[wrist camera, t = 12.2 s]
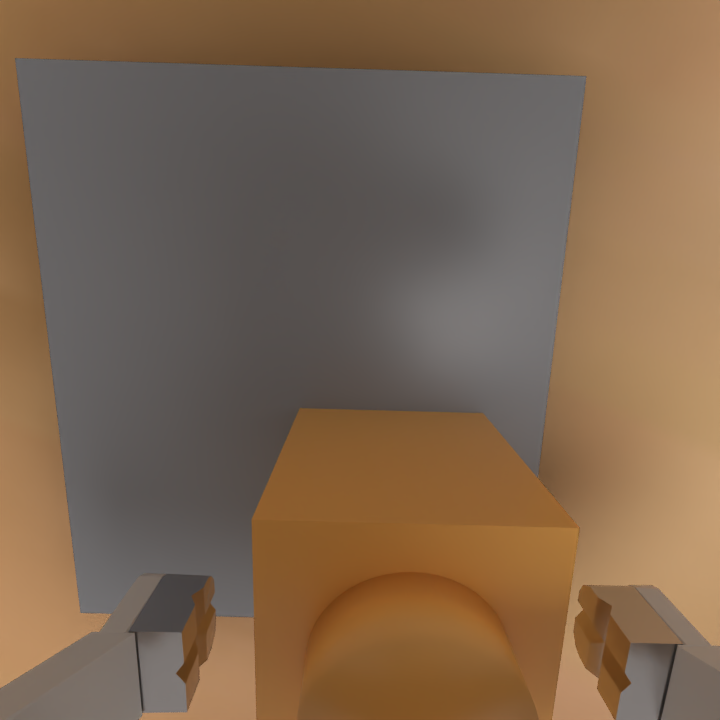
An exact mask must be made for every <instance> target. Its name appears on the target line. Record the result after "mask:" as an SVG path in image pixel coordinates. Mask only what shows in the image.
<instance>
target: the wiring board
mask: <svg viewBox="0 0 720 720" xmlns="http://www.w3.org/2000/svg"><path fill="white" fill-rule="evenodd" d="M15 61H16V70H17V78H18V87H19V95H20V104H21V112H22V121H23V129H24V138H25V146H26V155H27V163H28V172H29V180H30V188H31V197H32V205H33V214H34V222H35V231H36V239H37V248H38V256H39V265H40V273H41V282H42V290H43V299H44V307H45V316H46V324H47V332H48V341H49V349H50V358H51V366H52V375H53V383H54V392H55V400H56V409H57V417H58V426H59V434H60V443H61V451H62V460H63V468H64V477H65V485H66V493H67V502H68V510H69V519H70V527H71V536H72V544H73V553H74V561H75V570H76V578H77V587H78V595H79V604H80V612H81V613H107V614H112V613H113V612H114V610H115V609H116V608H117V606H118V605H119V603H120V602H121V600H122V599H123V598H124V596H125V595H126V593H127V592H128V591H129V589H130V588H131V586H132V585H133V583H134V582H135V581H136V579H137V578H138V577H139V576H140V575H142V574H144V573H154V574H183V575H203V576H212V577H213V579H214V587H215V593H214V595H213V598H212V600H211V605H212V606H213V607H214V608H215V609H216V616H225V617H254V598H253V558H252V517H253V515H254V513H255V510H256V508H257V506H258V503H259V501H260V499H261V497H262V494H263V492H264V490H265V487H266V485H267V483H268V480H269V478H270V476H271V473H272V471H273V469H274V466H275V464H276V462H277V460H278V457H279V455H280V453H281V450H282V448H283V446H284V443H285V441H286V439H287V436H288V434H289V432H290V429H291V427H292V425H293V422H294V420H295V418H296V416H297V413H298V411H299V409H300V408H311V409H348V410H385V411H422V412H459V413H483V414H484V415H485V416H486V417H487V418H488V420H489V421H490V422H491V423H492V424H493V426H494V427H495V428H496V429H497V430H498V432H499V433H500V434H501V435H502V436H503V437H504V439H505V440H506V441H507V442H508V443H509V445H510V446H511V447H512V448H513V449H514V451H515V452H516V453H517V454H518V455H519V457H520V458H521V459H522V460H523V461H524V462H525V464H526V465H527V466H528V467H529V468H530V470H531V471H532V472H533V473H534V474H535V476H536V477H537V478H538V473H539V465H540V456H541V448H542V440H543V432H544V423H545V415H546V407H547V398H548V390H549V382H550V374H551V365H552V357H553V349H554V341H555V332H556V324H557V316H558V307H559V299H560V291H561V283H562V274H563V266H564V258H565V249H566V241H567V233H568V225H569V216H570V208H571V200H572V192H573V183H574V175H575V167H576V158H577V150H578V142H579V134H580V125H581V117H582V109H583V100H584V92H585V84H586V76H565V75H534V74H502V73H470V72H438V71H406V70H374V69H343V68H311V67H279V66H247V65H215V64H184V63H152V62H120V61H88V60H56V59H24V58H15Z"/></svg>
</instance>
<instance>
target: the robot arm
mask: <svg viewBox="0 0 720 720" xmlns="http://www.w3.org/2000/svg"><path fill="white" fill-rule="evenodd" d="M214 593H215V587H214V579H213V577H212V576H203V575H183V574H154V573H144V574H142V575H140V576H139V577H138V578H137V579H136V581H135V582H134V583H133V585H132V586H131V588H130V589H129V591H128V592H127V593H126V595H125V596H124V598H123V599H122V600H121V602H120V603H119V605H118V606H117V608H116V609H115V610H114V612H113V613H112V615H111V616H110V617H109V619H108V620H107V622H106V623H105V625H104V626H103V627H102V629H101V630H100V632H91V633H89V634H88V635H86V636H84V637H83V638H81V639H80V640H78V641H76V642H75V643H73V644H71V645H70V646H68V647H67V648H65V649H63V650H62V651H60V652H59V653H57V654H55V655H54V656H52V657H50V658H49V659H47V660H46V661H44V662H42V663H41V664H39V665H37V666H36V667H34V668H33V669H31V670H29V671H28V672H26V673H25V674H23V675H21V676H20V677H18V678H16V679H15V680H13V681H12V682H10V683H8V684H7V685H5V686H4V687H2V688H0V720H138V719H139V718H140V717H141V716H142V713H154V712H187V711H188V709H189V706H190V703H191V701H192V698H193V696H194V693H195V691H196V688H197V685H198V683H199V680H200V677H199V666H201V665H202V664H203V663H204V662H205V661H207V659H208V656H209V654H210V651H211V648H212V644H213V639H214V635H215V628H216V609H215V608H214V607H213V606H212V605H211V600H212V598H213V595H214ZM578 602H579V603H580V605H581V606H582V608H583V611H582V612H581V613H580V614H579V615H578V616H577V617H576V618H575V624H574V638H575V645H576V648H577V651H578V654H579V657H580V659H581V660H582V662H583V664H584V666H585V668H586V669H587V670H589V671H590V672H591V673H592V674H594V675H595V676H596V677H598V678H599V680H598V686H597V689H598V691H599V693H600V695H601V696H602V698H603V700H604V702H605V703H606V705H607V707H608V709H609V710H610V712H611V714H612V716H613V718H614V719H615V720H720V646H711V645H710V644H709V642H708V641H707V640H706V639H705V638H704V637H703V636H702V635H701V634H700V633H699V632H698V631H697V630H696V628H695V627H694V626H693V625H692V624H691V623H690V622H689V621H688V620H687V619H686V618H685V617H684V616H683V614H682V613H681V612H680V611H679V610H678V609H677V608H676V607H675V606H674V605H673V604H672V603H671V601H670V600H669V599H668V598H667V597H666V596H665V595H664V594H663V593H662V592H661V591H660V590H659V589H658V588H656V587H654V586H653V585H629V586H611V585H583V586H582V588H581V589H580V592H579V597H578Z"/></svg>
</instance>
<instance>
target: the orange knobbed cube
mask: <svg viewBox="0 0 720 720" xmlns="http://www.w3.org/2000/svg"><path fill="white" fill-rule="evenodd" d="M579 529H580V528H579V527H578V525H577V524H576V523H575V522H574V521H573V520H572V518H571V517H570V516H569V515H568V514H567V512H566V511H565V510H564V509H563V508H562V506H561V505H560V504H559V503H558V502H557V501H556V499H555V498H554V497H553V496H552V495H551V493H550V492H549V491H548V490H547V489H546V487H545V486H544V485H543V484H542V483H541V481H540V480H539V479H538V478H537V477H536V476H535V474H534V473H533V472H532V471H531V470H530V468H529V467H528V466H527V465H526V464H525V462H524V461H523V460H522V459H521V458H520V457H519V455H518V454H517V453H516V452H515V451H514V449H513V448H512V447H511V446H510V445H509V443H508V442H507V441H506V440H505V439H504V437H503V436H502V435H501V434H500V433H499V432H498V430H497V429H496V428H495V427H494V426H493V424H492V423H491V422H490V421H489V420H488V418H487V417H486V416H485V415H484V414H483V413H459V412H422V411H385V410H348V409H311V408H300V409H299V411H298V413H297V416H296V418H295V420H294V422H293V425H292V427H291V429H290V432H289V434H288V436H287V439H286V441H285V443H284V446H283V448H282V450H281V453H280V455H279V457H278V460H277V462H276V464H275V466H274V469H273V471H272V473H271V476H270V478H269V480H268V483H267V485H266V487H265V490H264V492H263V494H262V497H261V499H260V501H259V503H258V506H257V508H256V510H255V513H254V515H253V517H252V558H253V598H254V638H255V678H256V719H257V720H552V716H553V709H554V702H555V695H556V688H557V681H558V674H559V667H560V661H561V654H562V647H563V640H564V633H565V626H566V619H567V612H568V605H569V598H570V592H571V585H572V578H573V571H574V564H575V557H576V550H577V543H578V536H579Z"/></svg>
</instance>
